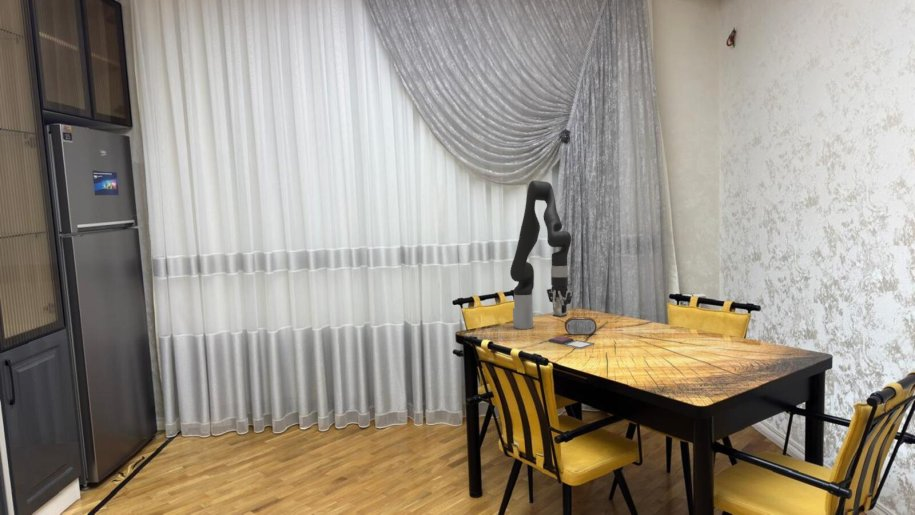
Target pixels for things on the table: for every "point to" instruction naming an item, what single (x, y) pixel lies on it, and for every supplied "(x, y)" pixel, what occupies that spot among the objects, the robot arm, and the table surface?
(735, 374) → the table surface
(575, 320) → the tin
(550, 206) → the robot arm
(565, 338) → the ink pad
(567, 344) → the marked box
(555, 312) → the stamp
